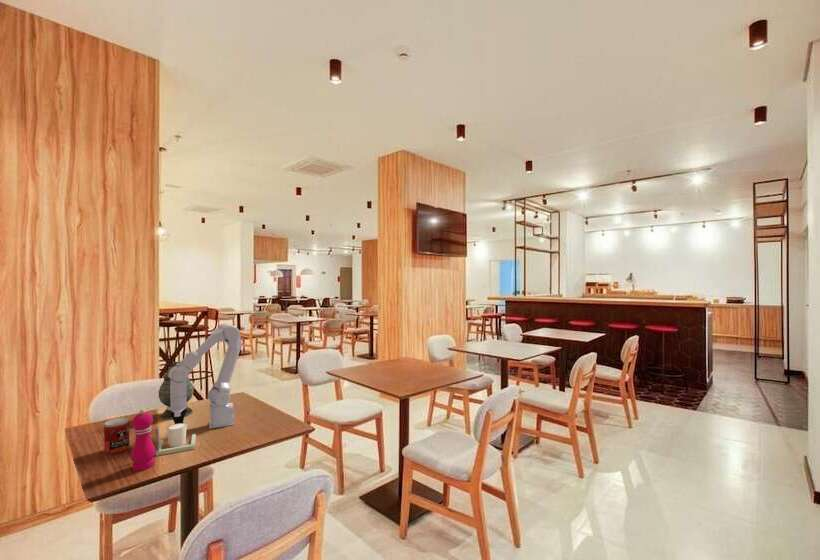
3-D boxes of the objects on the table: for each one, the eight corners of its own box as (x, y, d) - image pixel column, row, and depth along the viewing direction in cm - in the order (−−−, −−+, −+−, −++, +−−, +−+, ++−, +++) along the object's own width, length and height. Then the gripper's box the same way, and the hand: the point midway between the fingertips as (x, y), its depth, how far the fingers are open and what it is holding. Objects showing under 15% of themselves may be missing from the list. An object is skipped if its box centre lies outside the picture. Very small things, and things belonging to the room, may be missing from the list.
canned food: (110, 456, 143) (109, 426, 143) (100, 451, 148) (100, 422, 147) (133, 448, 150) (133, 420, 150) (124, 443, 154) (123, 416, 154)
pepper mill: (138, 462, 139) (137, 406, 139) (160, 461, 140) (159, 405, 139) (125, 472, 132) (124, 413, 132) (148, 471, 132) (147, 412, 132)
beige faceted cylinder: (179, 448, 150) (178, 429, 150) (162, 447, 151) (162, 429, 151) (191, 440, 157) (190, 423, 157) (175, 439, 158) (175, 422, 158)
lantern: (152, 419, 180) (151, 365, 179) (171, 408, 194) (170, 358, 194) (182, 419, 179) (181, 365, 179) (199, 408, 194) (198, 358, 193)
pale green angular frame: (195, 437, 160) (195, 413, 159) (194, 448, 149) (193, 422, 149) (152, 444, 153) (152, 419, 153) (148, 457, 142) (147, 430, 142)
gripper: (168, 392, 166) (169, 424, 166) (165, 402, 153) (166, 436, 154) (187, 390, 169) (188, 421, 170) (186, 399, 156) (186, 433, 157)
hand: (179, 428), depth 162 cm, fingers closed
